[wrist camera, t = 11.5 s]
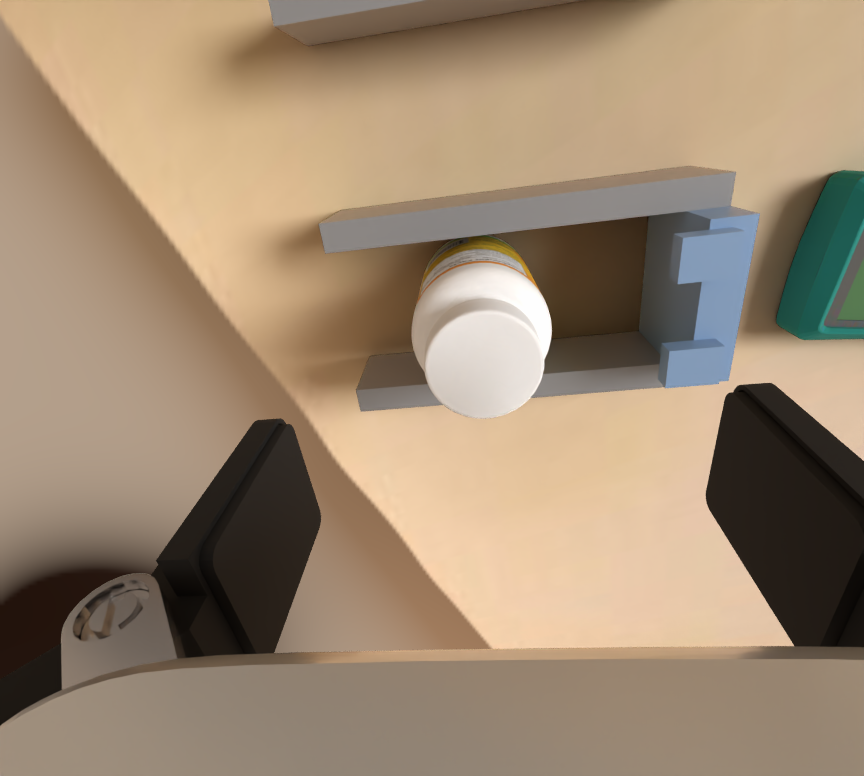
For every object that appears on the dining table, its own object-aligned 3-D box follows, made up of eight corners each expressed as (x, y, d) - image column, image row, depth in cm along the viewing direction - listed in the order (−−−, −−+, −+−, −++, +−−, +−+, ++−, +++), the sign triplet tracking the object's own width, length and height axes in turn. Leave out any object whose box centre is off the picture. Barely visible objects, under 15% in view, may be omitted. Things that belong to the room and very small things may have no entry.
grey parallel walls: (241, -281, 16) (105, -542, 10) (757, -407, 14) (980, -818, 8) (373, 375, 27) (348, 444, 21) (668, 349, 25) (733, 416, 19)
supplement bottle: (510, 345, 26) (537, 450, 17) (413, 323, 25) (389, 419, 17) (543, 245, 23) (593, 310, 14) (435, 220, 23) (420, 270, 14)
